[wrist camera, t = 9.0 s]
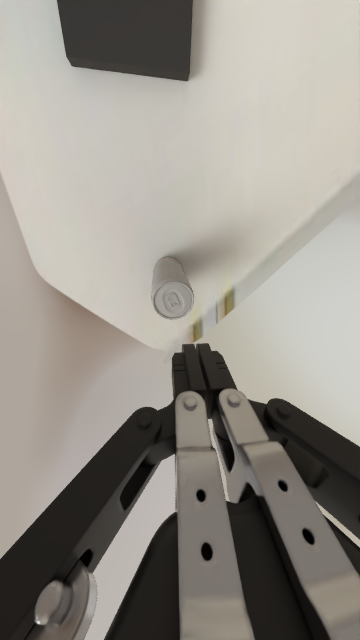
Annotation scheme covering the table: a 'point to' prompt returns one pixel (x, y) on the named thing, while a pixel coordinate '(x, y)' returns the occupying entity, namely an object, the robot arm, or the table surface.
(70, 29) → the scale
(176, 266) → the beverage can
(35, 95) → the table surface
